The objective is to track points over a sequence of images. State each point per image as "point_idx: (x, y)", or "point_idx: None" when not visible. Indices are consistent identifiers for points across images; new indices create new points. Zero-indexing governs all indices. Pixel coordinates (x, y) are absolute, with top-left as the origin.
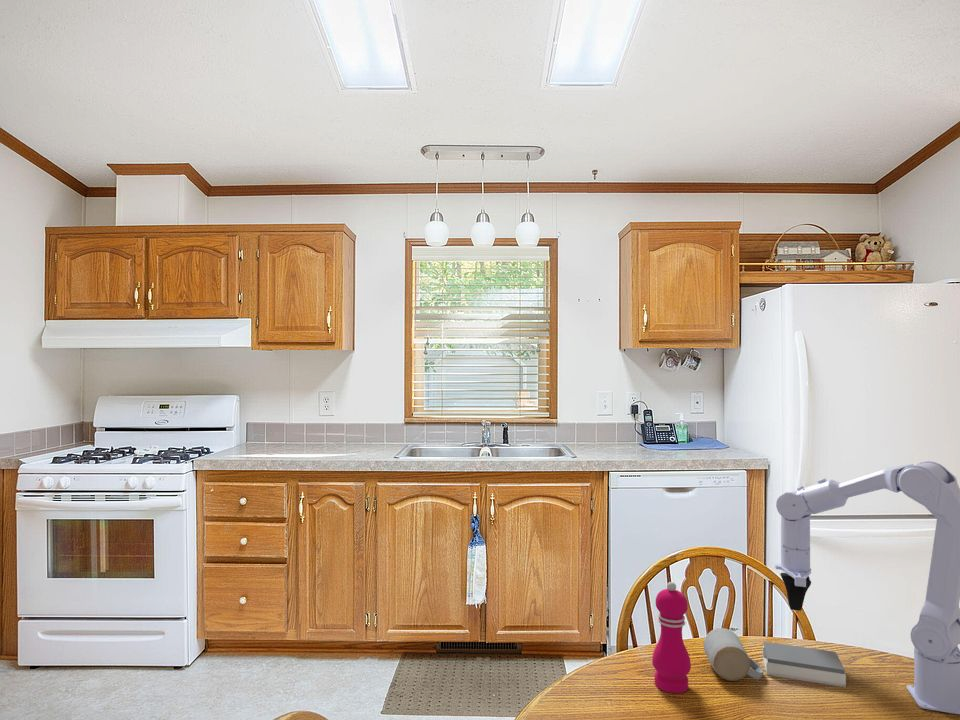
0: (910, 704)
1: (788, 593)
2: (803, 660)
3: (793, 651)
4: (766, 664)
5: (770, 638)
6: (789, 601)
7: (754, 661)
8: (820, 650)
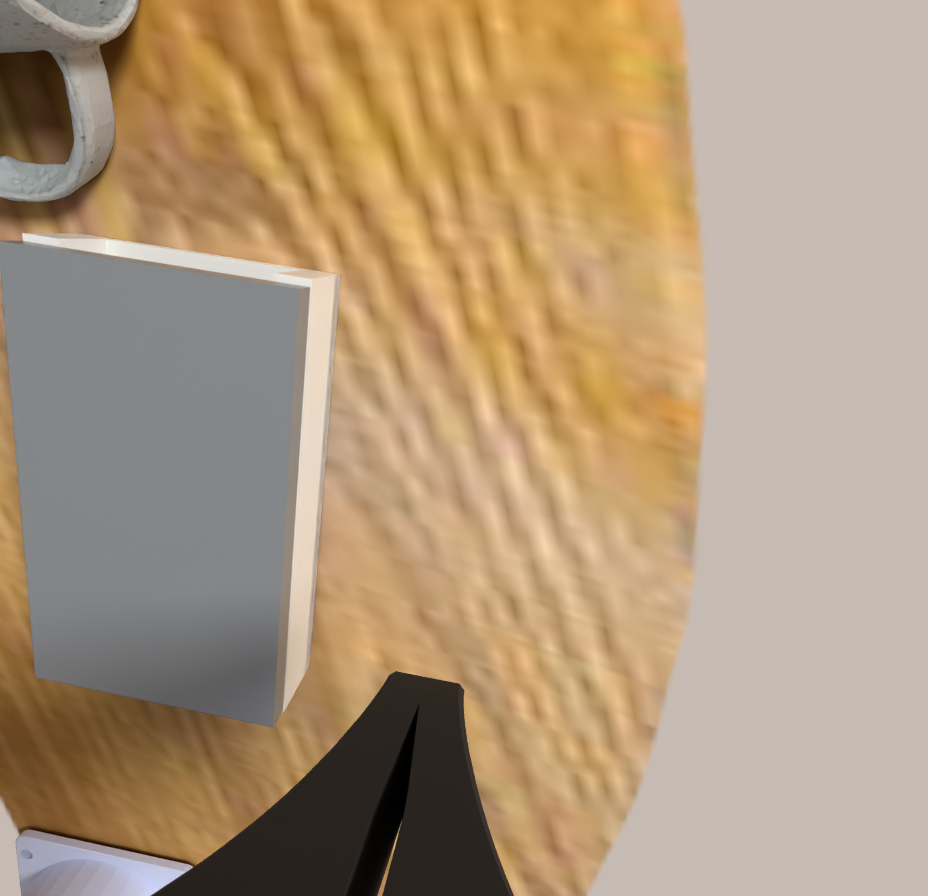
0: (53, 809)
1: (275, 807)
2: (68, 489)
3: (186, 469)
4: (46, 234)
5: (683, 420)
6: (356, 725)
7: (74, 154)
8: (262, 648)
